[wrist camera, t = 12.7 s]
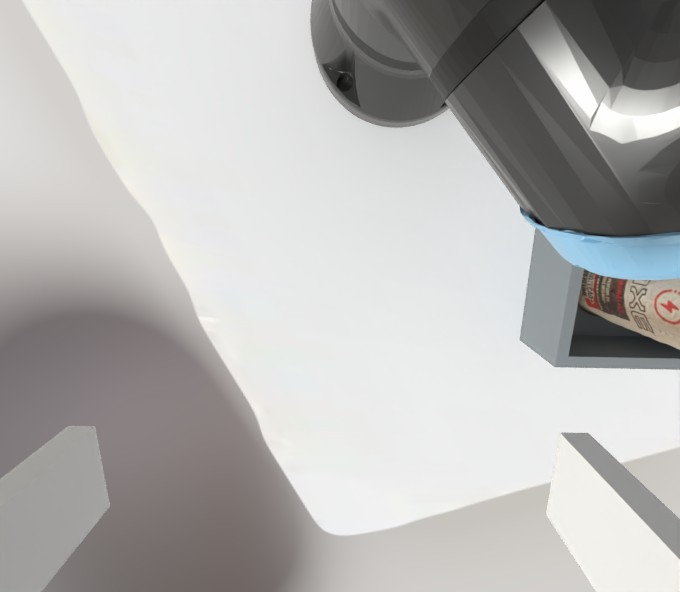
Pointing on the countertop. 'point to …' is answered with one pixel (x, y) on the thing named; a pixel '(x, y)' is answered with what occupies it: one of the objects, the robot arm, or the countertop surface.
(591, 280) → the white paper tall sack
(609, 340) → the bin
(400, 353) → the countertop surface
